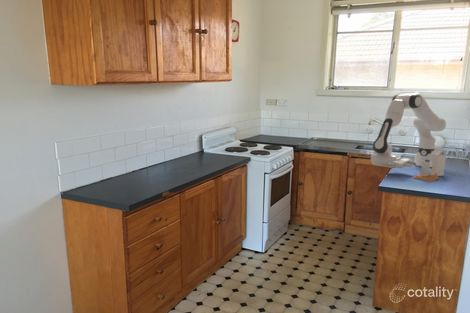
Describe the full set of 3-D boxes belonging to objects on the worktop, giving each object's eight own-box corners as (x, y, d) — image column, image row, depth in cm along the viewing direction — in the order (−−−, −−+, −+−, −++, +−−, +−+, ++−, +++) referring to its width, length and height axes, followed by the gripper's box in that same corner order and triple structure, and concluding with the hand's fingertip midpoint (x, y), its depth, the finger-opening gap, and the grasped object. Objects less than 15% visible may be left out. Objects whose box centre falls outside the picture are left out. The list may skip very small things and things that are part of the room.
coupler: (419, 175, 272) (420, 169, 271) (438, 178, 264) (438, 172, 263) (413, 178, 262) (413, 172, 261) (432, 181, 254) (433, 175, 253)
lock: (422, 175, 266) (424, 158, 263) (431, 177, 262) (433, 160, 260) (420, 177, 262) (422, 159, 260) (429, 178, 258) (431, 161, 256)
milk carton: (435, 176, 269) (438, 149, 266) (427, 174, 276) (430, 148, 272) (443, 176, 271) (446, 149, 267) (435, 173, 278) (439, 147, 274)
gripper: (388, 159, 267) (409, 162, 258) (398, 155, 282) (418, 158, 273) (387, 168, 268) (408, 171, 259) (398, 164, 283) (417, 167, 274)
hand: (413, 164), depth 266 cm, fingers open, 8 cm apart
